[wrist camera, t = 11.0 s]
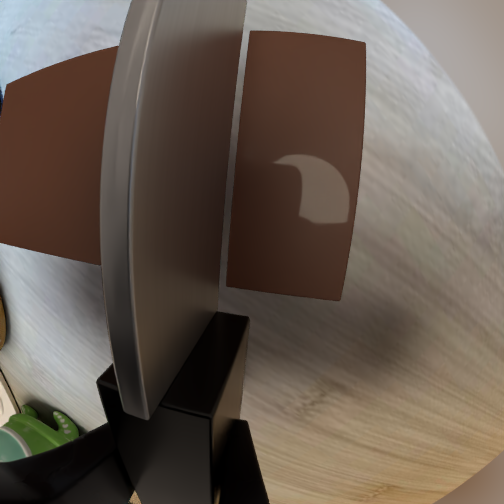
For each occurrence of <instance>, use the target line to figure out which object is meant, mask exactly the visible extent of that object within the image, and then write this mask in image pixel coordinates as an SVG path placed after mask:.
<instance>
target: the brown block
mask: <svg viewBox="0 0 504 504" xmlns="http://www.w3.org/2000/svg"><path fill="white" fill-rule="evenodd" d="M365 96H366V43H365V42H360V41H355V40H350V39H344V38H337V37H331V36H323V35H315V34H306V33H295V32H280V31H250V34H249V42H248V51H247V59H246V68H245V76H244V85H243V95H242V104H241V113H240V123H239V133H238V143H237V154H236V164H235V175H234V187H233V198H232V210H231V222H230V235H229V248H228V262H227V276H226V286H227V287H233V288H239V289H246V290H253V291H261V292H268V293H275V294H283V295H291V296H299V297H307V298H315V299H323V300H332V301H340V300H341V295H342V290H343V285H344V280H345V274H346V269H347V264H348V258H349V252H350V246H351V240H352V233H353V227H354V220H355V213H356V205H357V197H358V189H359V180H360V171H361V160H362V149H363V135H364V119H365Z"/></svg>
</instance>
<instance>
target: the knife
mask: <svg viewBox="0 0 504 504" xmlns="http://www.w3.org/2000/svg"><path fill="white" fill-rule="evenodd" d="M246 6H247V1H246V0H132V1H131V4H130V7H129V10H128V14H127V17H126V21H125V24H124V28H123V31H122V35H121V39H120V43H119V48H118V52H117V56H116V61H115V66H114V71H113V76H112V81H111V87H110V93H109V99H108V106H107V113H106V120H105V129H104V138H103V149H102V162H101V180H100V252H101V270H102V283H103V294H104V304H105V313H106V321H107V328H108V335H109V341H110V348H111V353H112V359H113V363H112V364H111V365H110V366H109V367H108V368H107V369H106V371H105V372H104V373H103V374H102V375H101V376H100V377H99V378H98V379H97V382H96V384H97V388H98V391H99V395H100V398H101V402H102V405H103V408H104V412H105V415H106V418H107V421H108V424H109V427H110V430H111V433H112V436H113V438H114V441H115V444H116V446H117V449H118V452H119V454H120V457H121V459H122V462H123V464H124V466H125V469H126V471H127V473H128V476H129V478H130V480H131V482H132V485H133V487H134V489H135V491H136V493H137V495H138V497H139V499H140V501H141V503H142V504H219V495H220V486H221V477H222V468H223V459H224V452H225V449H226V446H227V443H228V440H229V437H230V434H231V431H232V428H233V425H234V422H235V419H240V411H241V401H242V392H243V383H244V374H245V364H246V355H247V345H248V336H249V326H250V318H249V317H248V316H242V315H236V314H230V313H224V312H218V311H217V309H218V291H219V274H220V259H221V244H222V230H223V217H224V204H225V192H226V181H227V169H228V159H229V148H230V138H231V128H232V118H233V109H234V100H235V91H236V82H237V74H238V65H239V57H240V49H241V42H242V34H243V27H244V20H245V12H246Z"/></svg>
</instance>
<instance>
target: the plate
mask: <svg viewBox="0 0 504 504" xmlns="http://www.w3.org/2000/svg"><path fill="white" fill-rule="evenodd" d="M14 414H20V412H19V410H18V407H17V405H16V403H15V401H14V398H13V396H12V394H11V392H10V390H9V388H8V386H7V384H6V382H5V380H4V378H3V376H2V374H1V372H0V427H1V426H3V425H4V424H5V423H6V422H8V421H9V417H10V416H12V415H14Z"/></svg>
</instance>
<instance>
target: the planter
mask: <svg viewBox="0 0 504 504" xmlns="http://www.w3.org/2000/svg"><path fill="white" fill-rule="evenodd" d="M5 336H6V321H5V314H4V309H3V304H2V300H1V296H0V350H1V349H2V347H3V345H4V342H5Z"/></svg>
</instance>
